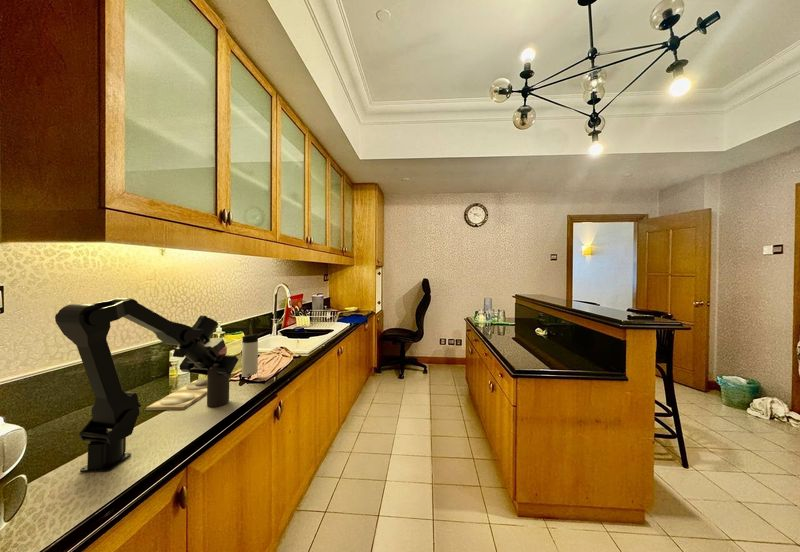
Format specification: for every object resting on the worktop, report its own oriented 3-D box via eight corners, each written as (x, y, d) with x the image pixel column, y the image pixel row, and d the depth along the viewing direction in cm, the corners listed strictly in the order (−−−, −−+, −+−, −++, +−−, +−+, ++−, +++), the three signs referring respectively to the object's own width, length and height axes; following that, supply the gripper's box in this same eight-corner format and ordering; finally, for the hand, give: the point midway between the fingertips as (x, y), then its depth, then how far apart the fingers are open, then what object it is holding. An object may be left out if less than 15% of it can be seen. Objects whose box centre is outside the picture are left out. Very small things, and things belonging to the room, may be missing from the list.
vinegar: (208, 401, 107) (209, 346, 108) (230, 398, 110) (230, 344, 110) (205, 409, 101) (206, 350, 101) (228, 405, 104) (228, 348, 104)
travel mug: (251, 382, 128) (252, 335, 128) (238, 380, 129) (239, 334, 129) (261, 377, 134) (261, 333, 134) (248, 376, 135) (249, 332, 136)
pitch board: (183, 409, 101) (183, 401, 101) (146, 410, 100) (146, 402, 100) (224, 382, 128) (224, 375, 128) (195, 382, 127) (195, 375, 127)
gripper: (235, 332, 101) (255, 356, 111) (187, 330, 104) (211, 354, 114) (216, 362, 93) (240, 385, 104) (165, 359, 96) (194, 381, 107)
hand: (221, 375), depth 107 cm, fingers closed on vinegar, 7 cm apart
